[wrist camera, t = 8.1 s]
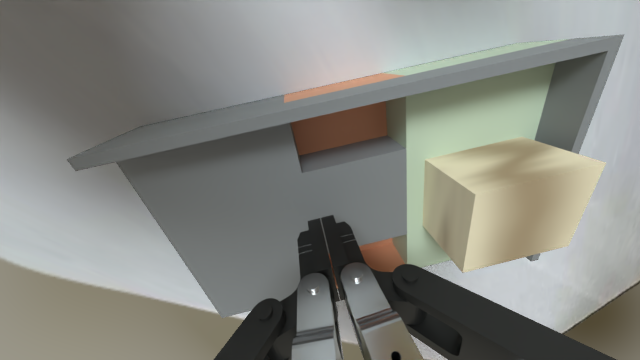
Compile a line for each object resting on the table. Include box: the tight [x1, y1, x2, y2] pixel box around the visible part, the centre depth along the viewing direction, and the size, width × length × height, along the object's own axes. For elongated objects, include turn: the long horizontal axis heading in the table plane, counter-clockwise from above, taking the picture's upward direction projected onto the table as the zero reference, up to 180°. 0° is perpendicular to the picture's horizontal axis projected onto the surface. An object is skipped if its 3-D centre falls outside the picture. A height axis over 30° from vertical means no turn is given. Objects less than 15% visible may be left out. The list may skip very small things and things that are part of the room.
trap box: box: [67, 35, 624, 318], centre depth 15 cm, size 23×14×5 cm, turn 101°
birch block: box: [423, 137, 606, 273], centre depth 13 cm, size 6×5×4 cm
